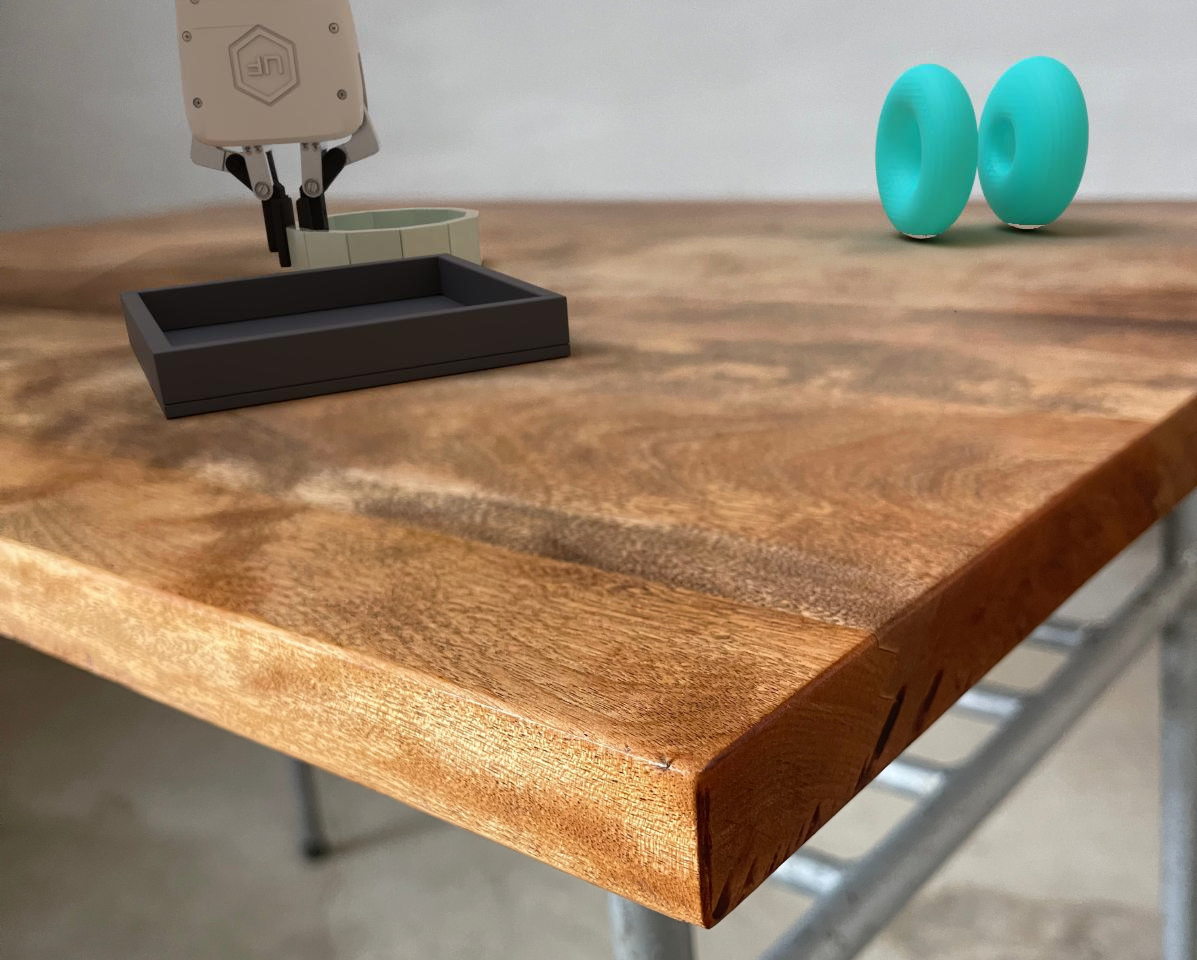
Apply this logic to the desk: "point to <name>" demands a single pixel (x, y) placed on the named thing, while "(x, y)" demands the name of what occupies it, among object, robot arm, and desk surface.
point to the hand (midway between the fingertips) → (302, 262)
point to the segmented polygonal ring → (387, 237)
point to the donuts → (981, 146)
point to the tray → (336, 330)
